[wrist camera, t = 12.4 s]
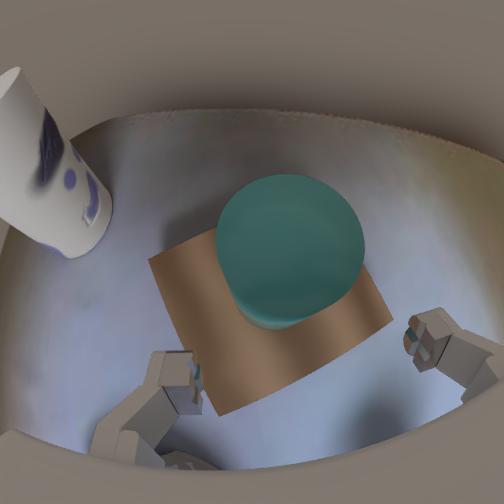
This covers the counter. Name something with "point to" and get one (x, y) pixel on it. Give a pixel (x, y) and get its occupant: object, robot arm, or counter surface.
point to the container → (46, 176)
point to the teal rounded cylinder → (288, 249)
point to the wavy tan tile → (247, 335)
